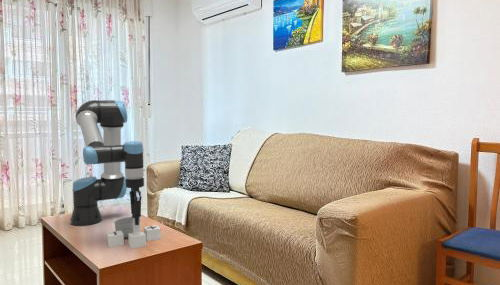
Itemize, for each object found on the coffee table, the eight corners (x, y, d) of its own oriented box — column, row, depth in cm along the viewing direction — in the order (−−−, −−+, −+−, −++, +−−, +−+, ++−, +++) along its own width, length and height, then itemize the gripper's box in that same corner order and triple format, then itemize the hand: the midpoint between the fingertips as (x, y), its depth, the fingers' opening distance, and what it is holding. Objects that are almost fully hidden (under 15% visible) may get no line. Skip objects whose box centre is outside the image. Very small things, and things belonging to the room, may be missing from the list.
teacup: (124, 241, 166) (124, 223, 165) (110, 237, 172) (109, 220, 171) (149, 233, 177) (149, 216, 176) (135, 229, 183) (134, 213, 183)
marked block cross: (144, 237, 171) (143, 226, 170) (157, 235, 173) (156, 224, 173) (147, 241, 165) (147, 230, 165) (160, 239, 168) (160, 227, 168)
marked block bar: (107, 243, 163) (107, 232, 163) (121, 241, 166) (121, 230, 165) (109, 248, 158) (108, 236, 157) (123, 245, 161) (123, 233, 160)
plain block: (128, 244, 161) (128, 233, 161) (142, 242, 164) (142, 231, 164) (131, 248, 156) (131, 237, 156) (146, 246, 159) (145, 234, 159)
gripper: (147, 179, 154) (148, 234, 156) (140, 174, 166) (142, 226, 168) (128, 180, 151) (130, 237, 153) (122, 176, 162) (124, 229, 164)
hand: (136, 231), depth 160 cm, fingers closed
